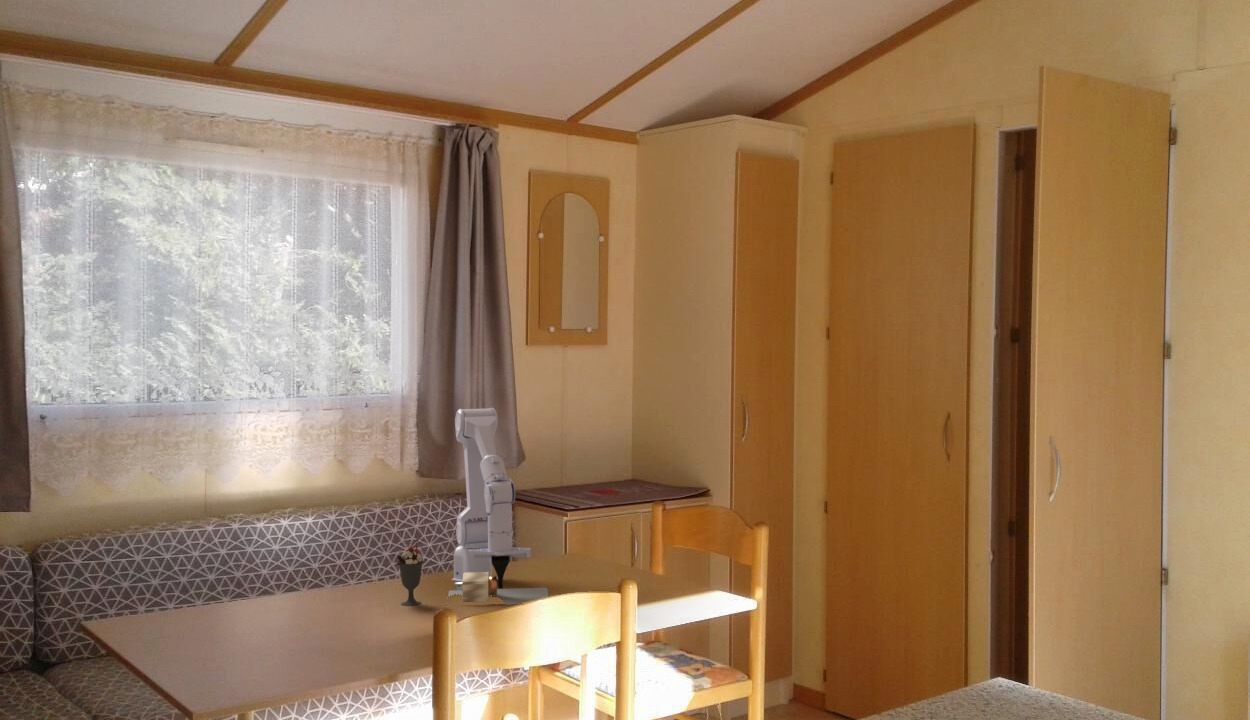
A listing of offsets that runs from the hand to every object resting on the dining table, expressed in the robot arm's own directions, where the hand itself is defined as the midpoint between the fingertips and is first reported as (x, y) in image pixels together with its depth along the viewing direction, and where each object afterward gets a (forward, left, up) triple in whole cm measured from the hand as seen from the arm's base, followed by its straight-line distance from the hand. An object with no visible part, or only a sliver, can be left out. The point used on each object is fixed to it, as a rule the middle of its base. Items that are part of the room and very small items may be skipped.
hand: (500, 587), depth 270 cm
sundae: (-14, -16, -3) cm, 21 cm away
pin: (-4, -4, -2) cm, 6 cm away
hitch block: (-5, -4, -2) cm, 6 cm away
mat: (-1, 0, -2) cm, 2 cm away
